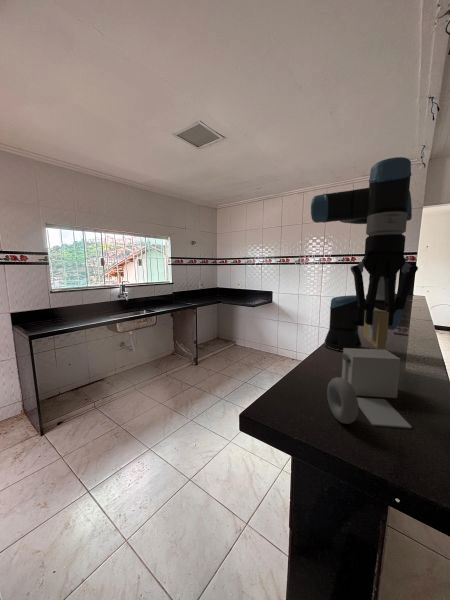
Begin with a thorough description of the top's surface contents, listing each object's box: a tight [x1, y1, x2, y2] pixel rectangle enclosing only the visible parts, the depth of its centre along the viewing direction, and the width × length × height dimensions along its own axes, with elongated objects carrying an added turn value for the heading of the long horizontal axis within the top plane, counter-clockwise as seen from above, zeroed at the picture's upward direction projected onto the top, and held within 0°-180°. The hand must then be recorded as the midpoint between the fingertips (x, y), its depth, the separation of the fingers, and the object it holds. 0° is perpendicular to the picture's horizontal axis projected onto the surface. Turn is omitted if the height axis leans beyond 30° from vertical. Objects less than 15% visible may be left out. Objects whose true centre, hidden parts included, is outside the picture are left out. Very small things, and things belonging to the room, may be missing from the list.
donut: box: [326, 376, 359, 425], centre depth 58 cm, size 10×4×10 cm, turn 4°
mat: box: [357, 397, 413, 429], centre depth 62 cm, size 12×8×1 cm, turn 172°
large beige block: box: [341, 348, 401, 399], centre depth 73 cm, size 8×13×11 cm, turn 82°
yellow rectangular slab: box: [363, 307, 388, 350], centre depth 61 cm, size 2×11×8 cm, turn 166°
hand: (377, 338), depth 59 cm, fingers closed on yellow rectangular slab, 2 cm apart
